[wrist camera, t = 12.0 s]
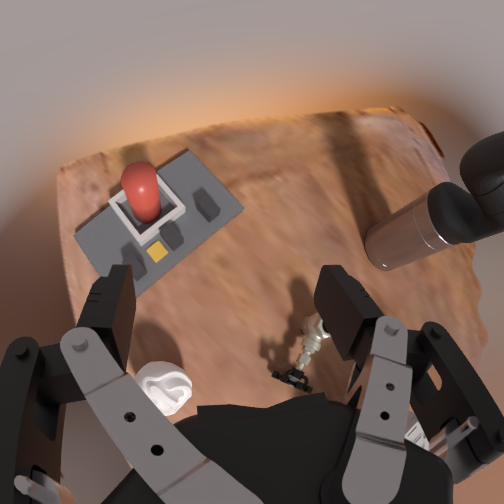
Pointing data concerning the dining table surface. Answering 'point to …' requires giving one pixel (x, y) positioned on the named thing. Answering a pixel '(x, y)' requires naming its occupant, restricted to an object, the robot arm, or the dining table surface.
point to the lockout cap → (142, 191)
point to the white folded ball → (165, 385)
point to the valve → (305, 352)
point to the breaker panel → (160, 223)
